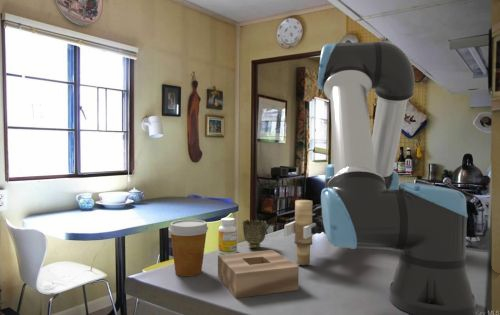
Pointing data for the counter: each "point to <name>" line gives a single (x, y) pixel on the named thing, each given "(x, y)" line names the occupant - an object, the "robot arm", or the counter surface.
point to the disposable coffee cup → (188, 246)
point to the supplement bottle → (227, 236)
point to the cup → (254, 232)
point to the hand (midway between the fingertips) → (295, 231)
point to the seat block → (257, 273)
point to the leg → (301, 220)
